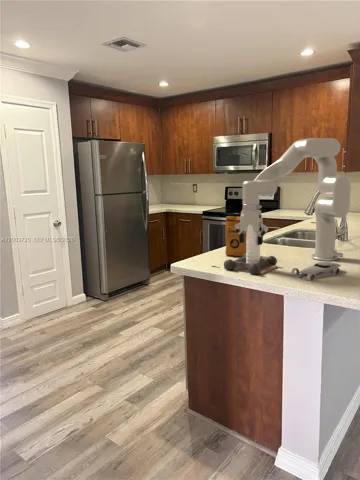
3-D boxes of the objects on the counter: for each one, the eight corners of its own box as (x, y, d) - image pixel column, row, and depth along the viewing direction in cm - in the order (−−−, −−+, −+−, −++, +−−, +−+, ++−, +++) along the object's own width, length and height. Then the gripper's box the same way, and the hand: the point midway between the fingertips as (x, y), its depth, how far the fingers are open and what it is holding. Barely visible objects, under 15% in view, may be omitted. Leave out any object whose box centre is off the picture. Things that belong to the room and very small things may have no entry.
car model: (289, 276, 155) (289, 265, 154) (326, 267, 166) (327, 257, 165) (309, 282, 145) (309, 271, 144) (347, 273, 156) (348, 262, 156)
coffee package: (245, 257, 190) (245, 217, 186) (223, 256, 195) (222, 216, 191) (249, 254, 198) (249, 215, 194) (228, 252, 204) (228, 214, 200)
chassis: (278, 266, 169) (279, 256, 169) (259, 276, 155) (260, 265, 154) (242, 261, 182) (242, 251, 181) (222, 269, 168) (221, 259, 167)
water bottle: (259, 264, 171) (260, 213, 167) (260, 267, 165) (260, 214, 160) (241, 264, 173) (241, 213, 168) (241, 267, 167) (241, 215, 162)
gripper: (271, 207, 161) (271, 244, 164) (238, 206, 172) (239, 240, 175) (264, 209, 155) (263, 247, 158) (230, 207, 166) (230, 243, 169)
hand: (250, 243), depth 167 cm, fingers open, 9 cm apart
